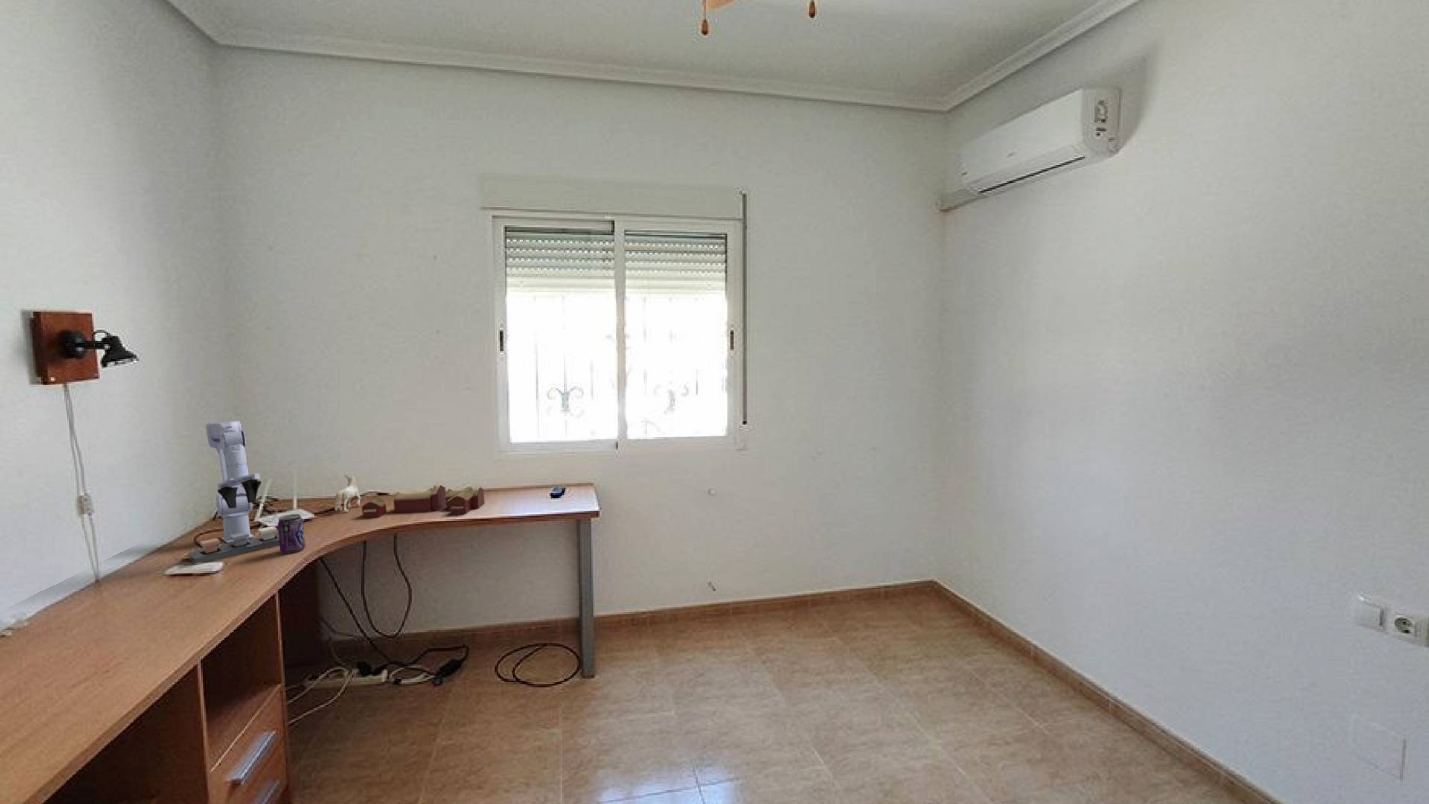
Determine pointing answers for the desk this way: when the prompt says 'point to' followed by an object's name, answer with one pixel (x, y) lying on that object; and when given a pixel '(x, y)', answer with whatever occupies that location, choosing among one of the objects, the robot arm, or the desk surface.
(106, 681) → the desk surface
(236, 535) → the light grey block
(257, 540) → the panel
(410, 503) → the toy houses
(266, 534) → the off-white block
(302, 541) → the beverage can
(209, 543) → the terracotta key
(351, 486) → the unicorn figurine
